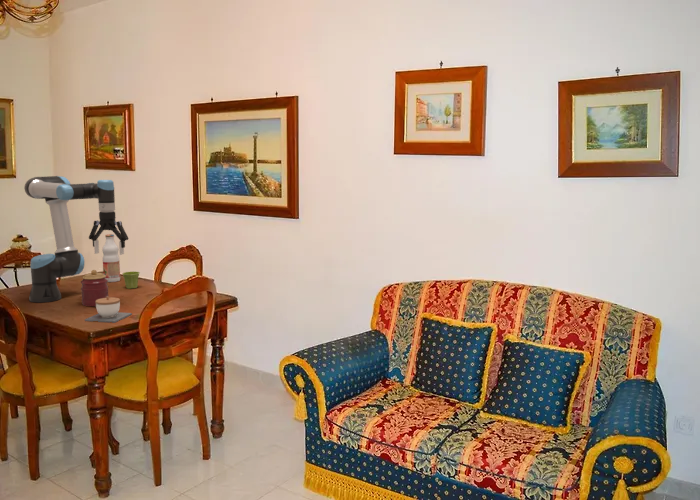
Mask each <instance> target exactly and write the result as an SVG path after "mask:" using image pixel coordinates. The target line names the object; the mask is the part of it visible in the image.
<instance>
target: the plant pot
mask: <svg viewBox="0 0 700 500" xmlns="http://www.w3.org/2000/svg"><path fill="white" fill-rule="evenodd" d="M140 273H141V272H139V271H125V272H122V275H123V279H124V284H125V288H126V289H129V290H131V289H137V288H138V284H139V276H140Z"/></svg>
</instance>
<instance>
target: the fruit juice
mask: <svg viewBox="0 0 700 500" xmlns="http://www.w3.org/2000/svg"><path fill="white" fill-rule="evenodd" d="M101 250H102V251H101V252H102V253H103V255H102V271H103V273H102V274H104V275H106V277H105V278H106V279H107V280H108V282H107V283H115V282H120V280H121V266H120V256H119V255H120V254H119V245H117V243H116V242H115V234H112V233H108V234H105V243H104V245H103V246H102V249H101Z"/></svg>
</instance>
